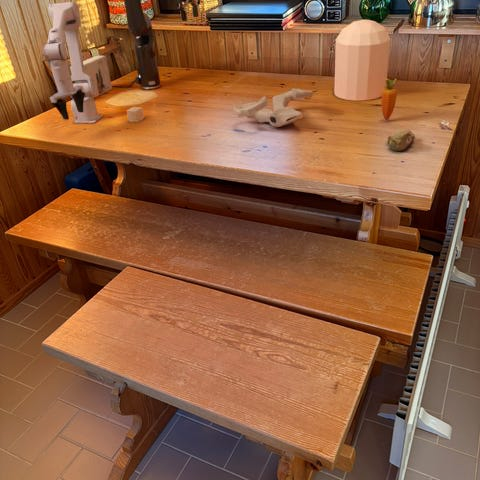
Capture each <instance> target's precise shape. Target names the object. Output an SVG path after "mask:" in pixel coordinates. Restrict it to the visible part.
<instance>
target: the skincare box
mask: <svg viewBox="0 0 480 480" xmlns="http://www.w3.org/2000/svg"><path fill="white" fill-rule="evenodd" d="M83 64H84V70H85V73H86V74H88V75H89V76H91V77H92V78H93V80H94V84H95V87H96V95H95V97H94V99H95V98H97V97H100V96H101V95H103V94H105V93H107V92H108V91H110V90H112V89H113V87H112V86H113V84H112V81H111V76H110V72H109V71H110V70H109V66H108V62H107V57H106V55H100V54H99V55H95V56H92V57H90V58H87V59H85V60H83ZM69 71H70V75H72V74H73V73H72V67H71V65H70V66H69ZM79 82H87V81H79ZM75 83H77V82H75Z"/></svg>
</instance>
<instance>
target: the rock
mask: <svg viewBox="0 0 480 480" xmlns="http://www.w3.org/2000/svg"><path fill="white" fill-rule="evenodd" d="M415 139H416V135H415V134H414V132H412V131H411V130H408V129H407V130H404V131H398V132H396V133H394V134H393V135H392V134H391V135H389V136H388V137H387V143H388V145H387V146H388V147H389V149H391V150H392V151H395V152H404V151H406V150H407V148H409V145H410V144H411V143H412V142H413V141H414V140H415Z"/></svg>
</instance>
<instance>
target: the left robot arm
mask: <svg viewBox="0 0 480 480" xmlns="http://www.w3.org/2000/svg"><path fill="white" fill-rule="evenodd" d="M80 13H81V12H80V9H79V6H78V4H77V3H76V2H75V1H73V0H72V1H68V2H57V3H52V2H51V3H49V5H48V14H49V17H50V19H51V20H52V28H50V29H49V31H48V37H47V43H46V44H44V45H43V47H42V53H43V56H44V58H45V60H46V62H47V65H48V67H49V68H50V69H51V72H52V76H53V80H54V83H55V86H56V90H57V92H56V93H55V94H53V95H51V96H50V97H49V99H50V103H51V104H52V106H53V107H55V109H56V110H57V111H58V112H59V114H60V115H61V117H62V118H63V120H65V121H66V120H69V119H70V117H69V112H68V108H67V101H64V100H63V99H66V98H68V97H70V98H71V99H72V100H71V102H70V109H71V112H72V115H73V119H74V121H73V122H74V123H75V124H93V123H96V122H97V121H99V120H100V119H102V118H103V116H104V115H103V114H99V112H98V108H97V104H96V101H95V98H96V97H95V95H96V87H95V84H94V80H93V78H92V77H91V76H89V75H88V74H86V73H85V70H84V64H83V61H84V60H83V59H84V58H83V53H82V48H81V42H80V37H79V28H80V27H81V26H82V19H81V14H80ZM66 44H67V45H66ZM67 51H68V54H67ZM68 56H69V61H70V66H71V67H72V73H73V74H71V71H70V68H69V66H68V62H67V58H68ZM79 81H87V82H79ZM75 82H77V83H75ZM94 97H95V98H94Z"/></svg>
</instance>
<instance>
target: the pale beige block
mask: <svg viewBox="0 0 480 480" xmlns="http://www.w3.org/2000/svg"><path fill="white" fill-rule="evenodd" d="M125 112H126V116H127V120H128V122H130V123H131V122H133V123H139V122H140V121H143V120H144V119H145V114H144V111H143V107H137V106H132V107H130V108H128V109H126V110H125Z"/></svg>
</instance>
